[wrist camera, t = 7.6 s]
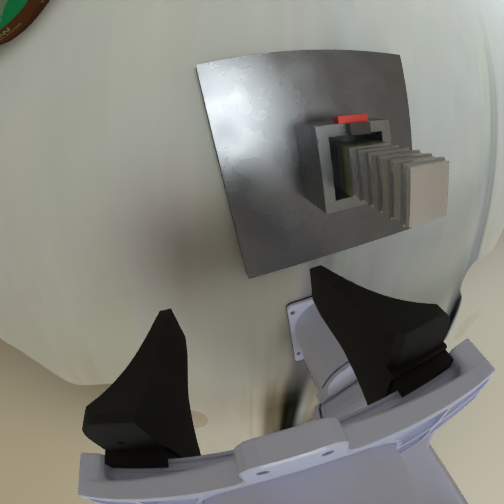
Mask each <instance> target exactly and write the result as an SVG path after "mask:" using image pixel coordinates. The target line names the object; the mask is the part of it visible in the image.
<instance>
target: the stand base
mask: <svg viewBox="0 0 504 504" xmlns="http://www.w3.org/2000/svg"><path fill="white" fill-rule="evenodd" d="M196 70H197V74H198V78H199V83H200V87H201V91H202V95H203V99H204V104H205V108H206V112H207V116H208V120H209V124H210V128H211V132H212V137H213V141H214V145H215V149H216V153H217V157H218V161H219V165H220V169H221V173H222V177H223V181H224V185H225V189H226V193H227V197H228V201H229V205H230V209H231V213H232V217H233V221H234V225H235V229H236V233H237V236H238V240H239V244H240V248H241V252H242V256H243V260H244V264H245V268H246V271H247V275H248V277H249V278H253V277H256V276H260V275H263V274H267V273H270V272H273V271H277V270H280V269H283V268H287V267H290V266H294V265H297V264H300V263H303V262H307V261H310V260H313V259H317V258H320V257H323V256H326V255H330V254H333V253H336V252H339V251H342V250H345V249H349V248H352V247H355V246H358V245H361V244H364V243H367V242H371V241H374V240H377V239H380V238H383V237H386V236H389V235H392V234H395V233H398V232H401V231H404V230H407V229H410V228H411V227H410V228H409V227H407V226H405V227H402V226H400V222H399V221H397V220H396V219H392V220H391V219H389V215H388V214H386V213H384V212H383V213H380V212H378V208H376V207H374V206H373V207H370V206H368V203H367V202H366V201H363V202H361V201H360V198H359V197H357V196H356V197H352V196H350V195H348V194H346V193H345V192H344V189H342V188H340V187H339V186H337V185H335V184H334V175H333V166H332V158H331V150H330V144H334V143H340V142H347V141H355V140H362V139H366V140H371V141H376V140H379V141H385V142H388V143H389V145H395V144H397V145H399V147H409V150H412V141H411V127H410V117H409V108H408V100H407V92H406V86H405V80H404V74H403V69H402V63H401V59H400V55H396V54H388V53H379V52H368V51H353V50H298V51H283V52H271V53H262V54H254V55H247V56H240V57H234V58H228V59H223V60H218V61H213V62H208V63H204V64H199V65H196Z"/></svg>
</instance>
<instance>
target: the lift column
mask: <svg viewBox="0 0 504 504" xmlns="http://www.w3.org/2000/svg"><path fill="white" fill-rule="evenodd" d="M330 150H331V158H332V166H333V175H334V184H335V185H337V186H339V187H340V188H342V189H344V192H345V193H346V194H348V195H350V196H352V197H356V196H357V197H359V198H360V201H361V202H363V201H366V202H367V203H368V206H370V207H373V206H374V207H376V208H378V212H380V213H383V212H384V213H386V214H388V215H389V219H391V220H392V219H396V220H397V221H399V222H400V226H402V227H405V226H407V227H409V228H410V227H413V226H416V225H419V224H422V223H425V222H428V221H431V220H434V219H437V218H440V217H442V216H445V215H446V210H447V198H448V180H449V161H446V160H445V158H444V157H437V158H436V157H433V156H432V154H431V153H425V154H423V153H420V150H409V147H399V145H397V144H395V145H389V143H388V142H385V141H379V140H376V141H371V140H366V139H362V140H355V141H347V142H340V143H334V144H330Z"/></svg>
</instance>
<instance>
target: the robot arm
mask: <svg viewBox="0 0 504 504" xmlns="http://www.w3.org/2000/svg"><path fill="white" fill-rule="evenodd" d="M310 276H311V286H312V297H311V298H308V299H305V300H302V301H298V302H295V303H292V304H290V305H288V306H287V314H288V320H289V326H290V332H291V338H292V345H293V351H294V357H295V360H296V361H300V360H303V359H304V361H305V363H306V365H307V367H308V369H309V372H310V374H311V376H312V378H313V380H314V383H315V385H316V387H317V389H318V391H319V392H318V393H317V394H316V395H317V398H318V400H319V402H320V403H319V404H318V405H316V406H315V408H314V415H313V421H310V422H307V423H305V424H302V425H299V426H295V427H292V428H289V429H286V430H282V431H279V432H276V433H272V434H268V435H265V436H261V437H257V438H253V439H250V440H247V441H244V442H242V443H241V444H239V445H238V446H236V447H235V448H234V450H231V451H226V452H220V453H214V454H208V455H201V454H200V450H199V447H198V443H197V439H196V435H195V430H194V426H193V421H192V415H191V410H190V403H189V397H188V361H187V346H186V339H185V335H184V333H183V331H182V330H181V328H180V326H179V324H178V322H177V320H176V318H175V316H174V314H173V312H172V310H171V309H167V310H163V311H160V312H159V314H158V316H157V317H156V319H155V321H154V323H153V325H152V327H151V329H150V331H149V333H148V335H147V336H146V338H145V340H144V342H143V343H142V345H141V347H140V348H139V350H138V352H137V353H136V355H135V357H134V358H133V359H132V361H131V362H130V364H129V365H128V366H127V368H126V369H125V370H124V371H123V373H122V374H121V375H120V376H119V377H118V378H117V380H116V381H115V382H114V383H113V384H112V385H111V386H110V387H109V388H108V389H107V390H106V391H105V392H104V393H103V394H102V395H100V396H99V397H98V398H97V399H95V400H94V401H93V402H92V403H90V404H89V405H88V406H87V407H86V409H85V415H84V421H83V427H82V430H83V432H84V434H85V435H86V436H87V437H88V438H89V439H90V440H92V441H93V442H94V443H96V444H98V445H99V446H101V447H102V448H103V449H105V455H102V454H97V453H81V458H80V469H79V486H78V487H79V488H78V495H79V496H80V497H82V498H85V499H87V500H90V501H92V502H95V503H98V504H468V503H467V501H466V500H465V498H464V496H463V495H462V493H461V491H460V490H459V488H458V486H457V485H456V484H455V482H454V480H453V479H452V477H451V475H450V474H449V472H448V471H447V469H446V468H445V466H444V465H443V463H442V462H441V460H440V458H439V457H438V455H437V454H436V452H435V451H434V449H433V448H432V446H431V445H430V440H431V438H432V436H433V434H434V431H435V430H437V429H438V428H439V427H441V426H442V425H443V424H444V423H446V422H447V421H448V420H449V419H451V418H452V417H453V416H455V415H456V414H457V413H458V412H459V411H461V410H462V409H463V408H464V407H465V406H467V405H468V404H469V403H470V402H471V401H472V400H474V399H475V398H476V397H477V395H478V394H479V393H480V392H481V390H482V389H483V388H484V386H485V385H486V384H487V382H488V381H489V380H490V378H491V377H492V375H493V374H494V373H495V368H494V367H493V366H492V365H491V364H490V363H489V361H488V360H487V359H486V358H485V357H484V356H483V355H482V353H480V351H479V350H478V349H477V348H476V347H475V346H474V345H473V343H472V342H470V340H469V339H466V340H464V341H463V342H462V343H460V344H459V345H457V346H456V347H455V348H453V349H452V350H451V351H450V353H448V352H447V351H446V350H445V349H446V348H447V346H446V344H445V343H444V342H443V340H444V337H445V335H446V332H447V330H448V327H449V322H450V318H449V316H448V315H447V314H446V313H445V312H444V311H443V310H442V309H441V308H440V307H439V306H438V305H437V304H426V303H416V302H409V301H404V300H399V299H395V298H391V297H388V296H384V295H381V294H378V293H376V292H373V291H370V290H368V289H365V288H363V287H361V286H359V285H356V284H354V283H352V282H350V281H348V280H347V279H345V278H343V277H341V276H339V275H337V274H336V273H334V272H332V271H330V270H328V269H327V268H325V267H323V266H321V265H320V266H317V267H314V268H311V269H310ZM292 311H293V312H292ZM291 312H292V313H291Z"/></svg>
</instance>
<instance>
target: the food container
mask: <svg viewBox="0 0 504 504" xmlns="http://www.w3.org/2000/svg"><path fill="white" fill-rule="evenodd" d="M48 2H49V0H0V45H1V44H3V43H6V42H8V41H10V40H12V39H13V38H15V37H16V36H18V35H19V34H20V33H21V32H23V31H24V30H25V29H26V28H27V27H28V26H29V25H30V24H31V23H32V22H33V21H34V20H35V19H36V18H37V16H38V15H39V14H40V13H41V11H42V10H43V9H44V7H45V6H46V5H47V3H48Z"/></svg>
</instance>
